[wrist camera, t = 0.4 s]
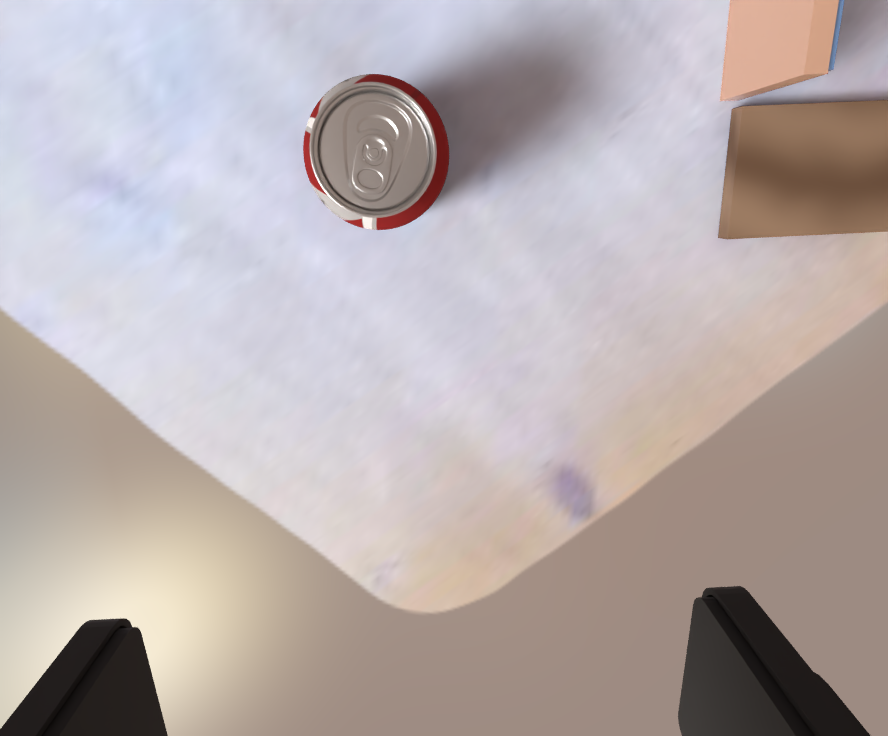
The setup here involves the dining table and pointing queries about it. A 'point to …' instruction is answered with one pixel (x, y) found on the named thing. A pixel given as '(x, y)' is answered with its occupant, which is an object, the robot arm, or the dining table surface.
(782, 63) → the tile
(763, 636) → the robot arm
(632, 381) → the dining table surface
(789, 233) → the board
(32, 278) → the dining table surface
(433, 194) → the soda can
